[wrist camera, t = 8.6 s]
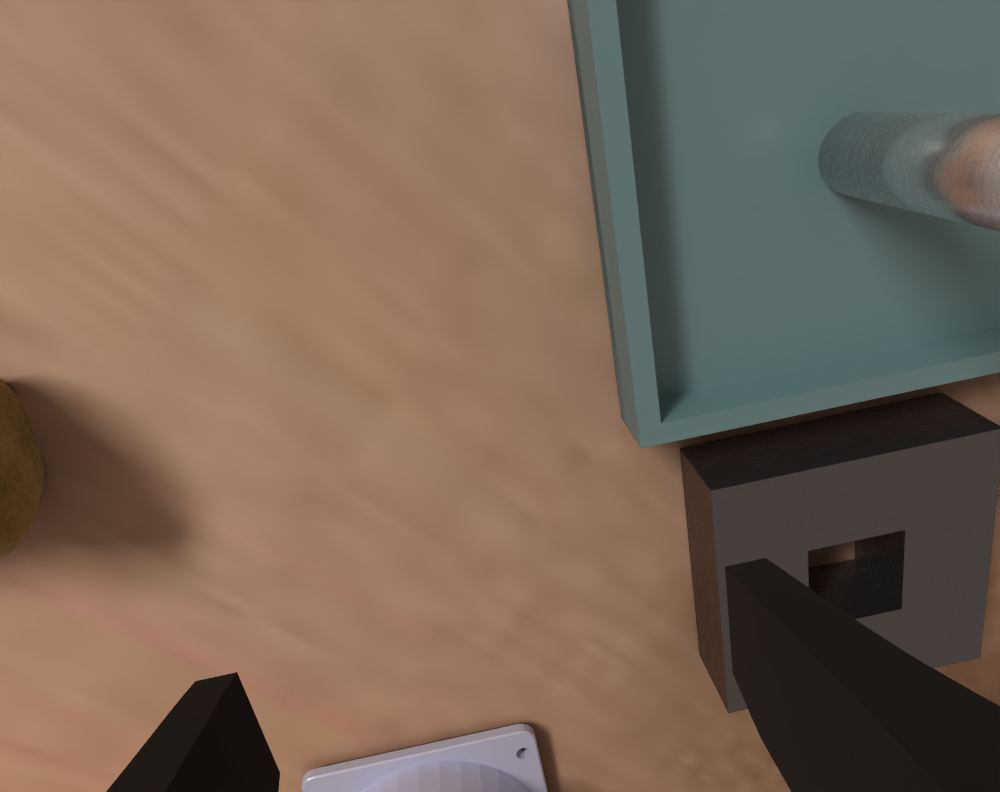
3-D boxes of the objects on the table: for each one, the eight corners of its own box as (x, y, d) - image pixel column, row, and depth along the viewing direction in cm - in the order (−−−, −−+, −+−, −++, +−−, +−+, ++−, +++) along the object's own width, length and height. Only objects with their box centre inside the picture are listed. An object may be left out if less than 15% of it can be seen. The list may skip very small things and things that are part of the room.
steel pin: (923, 211, 19) (1276, 291, 11) (791, 234, 19) (1041, 332, 11) (929, 68, 18) (1335, 34, 9) (788, 93, 18) (1068, 83, 9)
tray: (1064, 323, 21) (1124, 345, 19) (621, 417, 21) (641, 448, 19) (1137, -241, 16) (1230, -284, 14) (551, -127, 16) (568, -156, 14)
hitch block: (928, 605, 25) (980, 657, 23) (699, 655, 25) (728, 713, 22) (941, 392, 22) (1003, 428, 19) (679, 448, 22) (710, 490, 19)
